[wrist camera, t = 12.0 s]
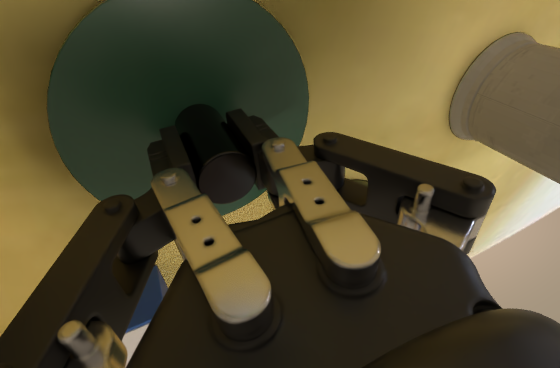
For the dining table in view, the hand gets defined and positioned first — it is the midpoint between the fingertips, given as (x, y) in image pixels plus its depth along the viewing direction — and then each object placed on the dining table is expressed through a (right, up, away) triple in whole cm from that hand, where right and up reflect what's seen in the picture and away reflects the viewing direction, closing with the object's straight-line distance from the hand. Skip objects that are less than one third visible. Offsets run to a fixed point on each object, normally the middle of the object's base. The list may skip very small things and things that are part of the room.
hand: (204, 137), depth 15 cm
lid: (-1, +1, +1) cm, 2 cm away
